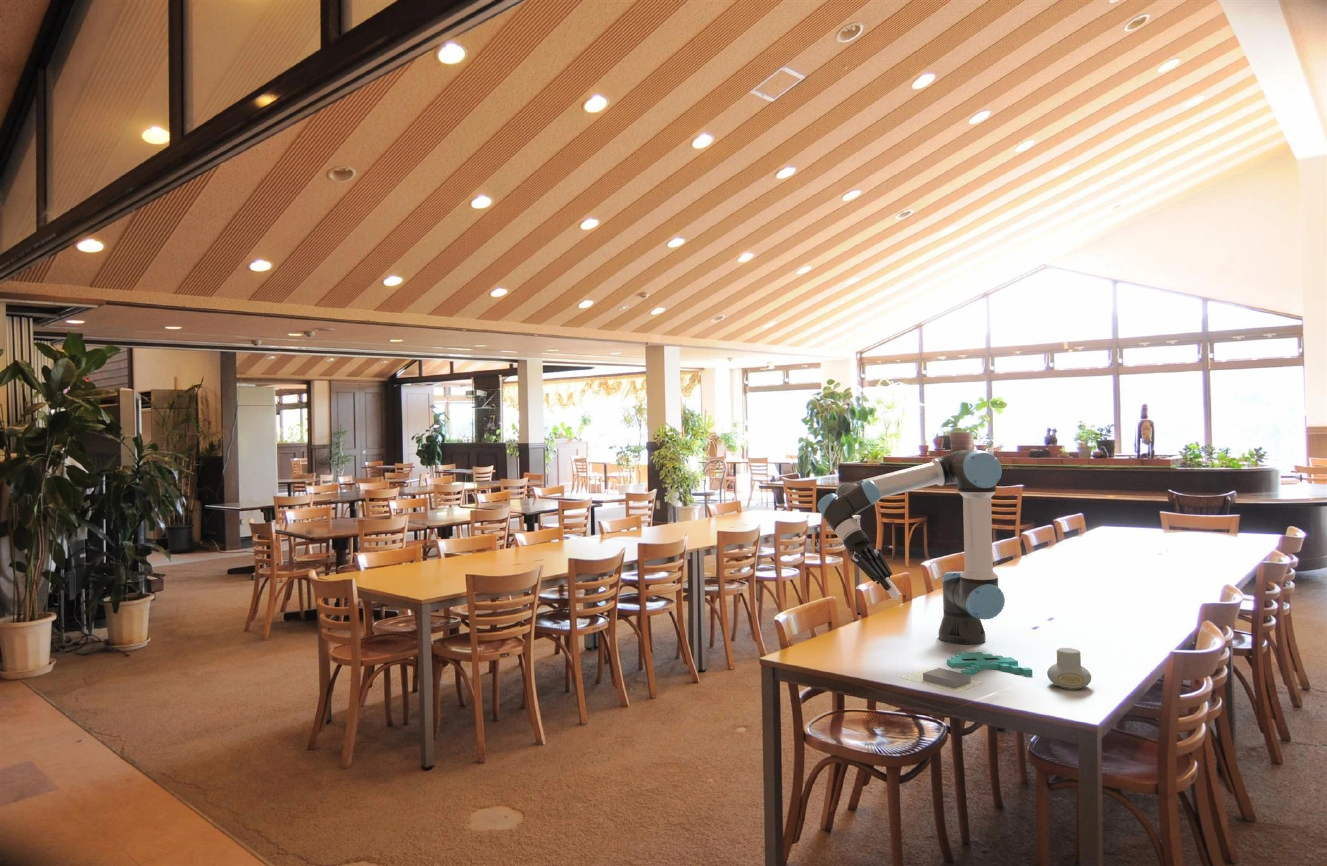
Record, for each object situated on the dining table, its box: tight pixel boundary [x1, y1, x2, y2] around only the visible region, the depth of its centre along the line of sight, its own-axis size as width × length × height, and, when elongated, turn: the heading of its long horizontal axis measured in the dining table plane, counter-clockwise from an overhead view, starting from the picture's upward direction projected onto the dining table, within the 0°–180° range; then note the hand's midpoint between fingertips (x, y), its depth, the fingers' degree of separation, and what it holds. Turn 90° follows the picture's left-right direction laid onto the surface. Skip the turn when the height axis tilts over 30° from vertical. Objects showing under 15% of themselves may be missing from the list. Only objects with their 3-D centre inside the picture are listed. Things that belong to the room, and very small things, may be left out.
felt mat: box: [900, 668, 983, 693], centre depth 234 cm, size 18×13×1 cm
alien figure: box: [946, 651, 1033, 677], centre depth 247 cm, size 20×2×20 cm
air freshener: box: [1046, 647, 1092, 691], centre depth 227 cm, size 11×8×10 cm
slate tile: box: [923, 667, 972, 688], centre depth 232 cm, size 2×8×10 cm
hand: (897, 597), depth 246 cm, fingers closed
